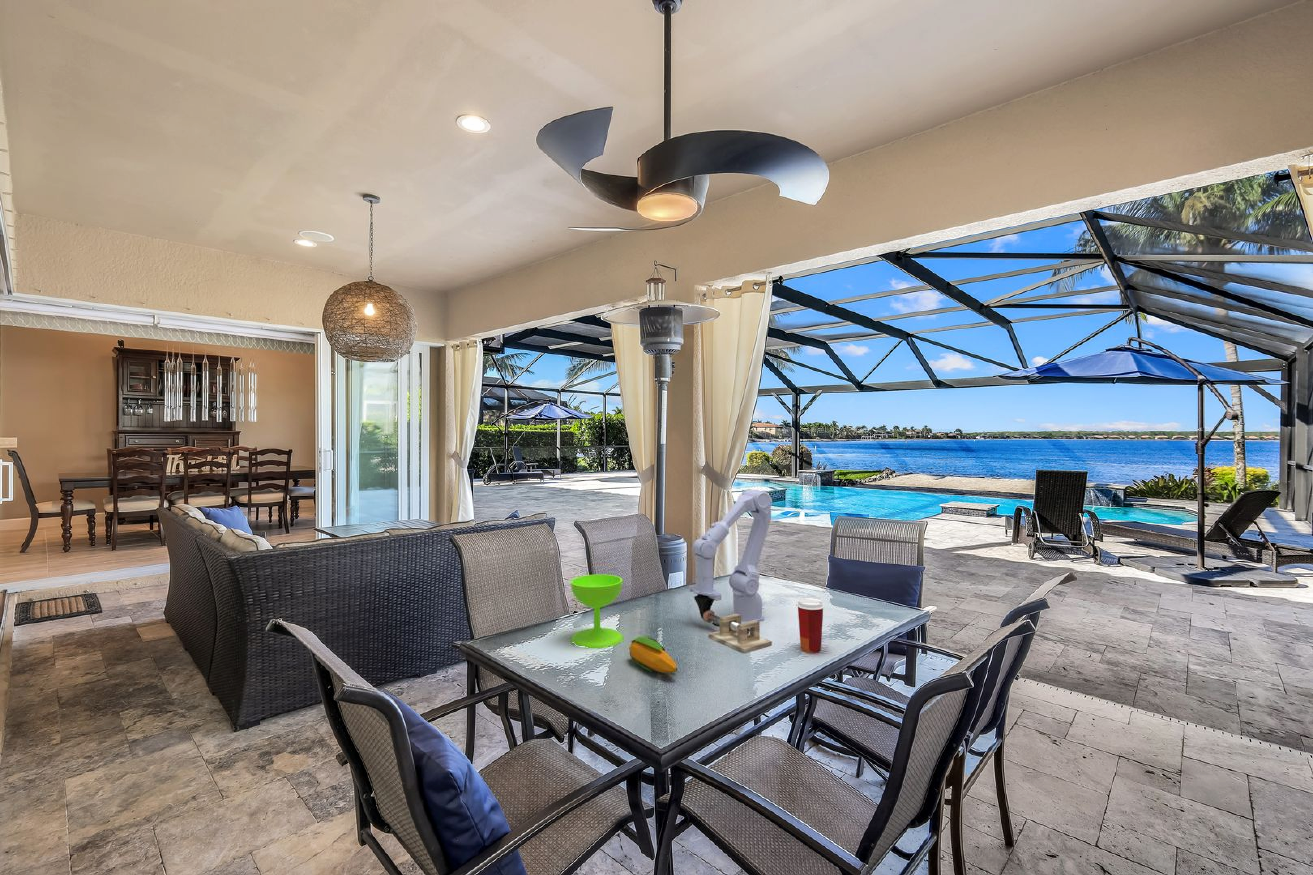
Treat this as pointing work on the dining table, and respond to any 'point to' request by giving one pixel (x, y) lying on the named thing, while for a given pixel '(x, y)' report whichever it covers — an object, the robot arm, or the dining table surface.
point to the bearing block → (740, 635)
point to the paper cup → (810, 624)
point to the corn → (651, 655)
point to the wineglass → (597, 608)
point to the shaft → (711, 617)
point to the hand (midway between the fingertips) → (704, 617)
